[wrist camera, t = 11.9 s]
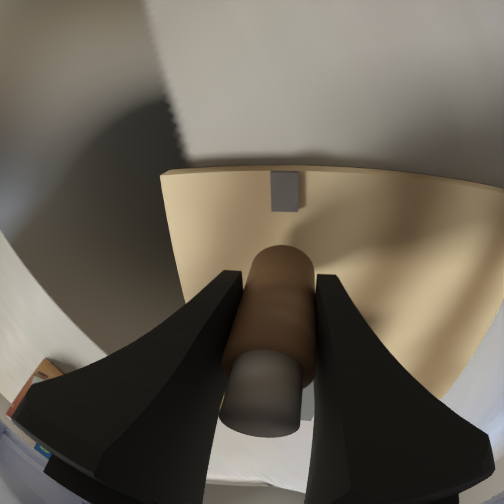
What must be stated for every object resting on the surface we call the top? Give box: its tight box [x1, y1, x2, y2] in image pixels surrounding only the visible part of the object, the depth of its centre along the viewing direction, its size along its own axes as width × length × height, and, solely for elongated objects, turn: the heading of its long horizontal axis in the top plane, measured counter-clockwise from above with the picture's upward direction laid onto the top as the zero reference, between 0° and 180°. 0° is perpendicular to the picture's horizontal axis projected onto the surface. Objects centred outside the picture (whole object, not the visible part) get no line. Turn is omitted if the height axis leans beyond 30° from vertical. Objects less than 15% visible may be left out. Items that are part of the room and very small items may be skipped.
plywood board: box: [160, 165, 504, 399], centre depth 13 cm, size 18×16×1 cm
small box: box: [6, 358, 64, 419], centre depth 23 cm, size 8×6×10 cm
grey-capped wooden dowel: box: [219, 245, 316, 438], centre depth 8 cm, size 2×2×6 cm
